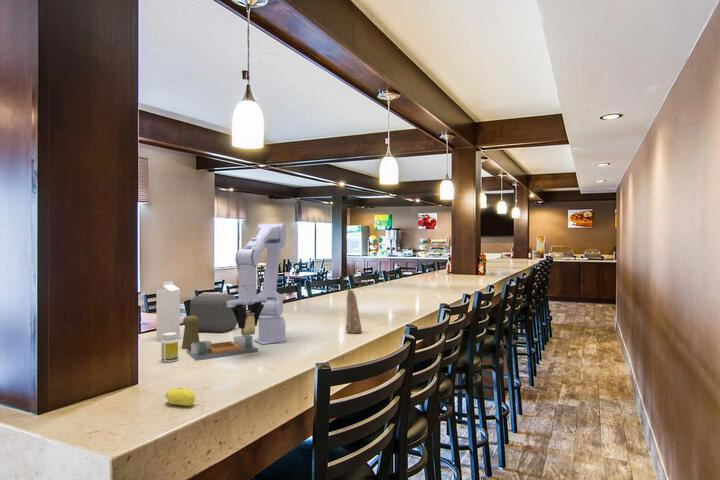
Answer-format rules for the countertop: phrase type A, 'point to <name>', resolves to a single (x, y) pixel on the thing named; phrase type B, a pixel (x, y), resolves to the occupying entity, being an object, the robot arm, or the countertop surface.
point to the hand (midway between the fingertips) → (247, 326)
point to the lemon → (180, 396)
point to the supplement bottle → (169, 347)
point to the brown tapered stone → (352, 315)
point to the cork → (190, 331)
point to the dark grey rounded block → (213, 312)
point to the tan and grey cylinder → (249, 323)
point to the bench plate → (222, 348)
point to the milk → (168, 310)
